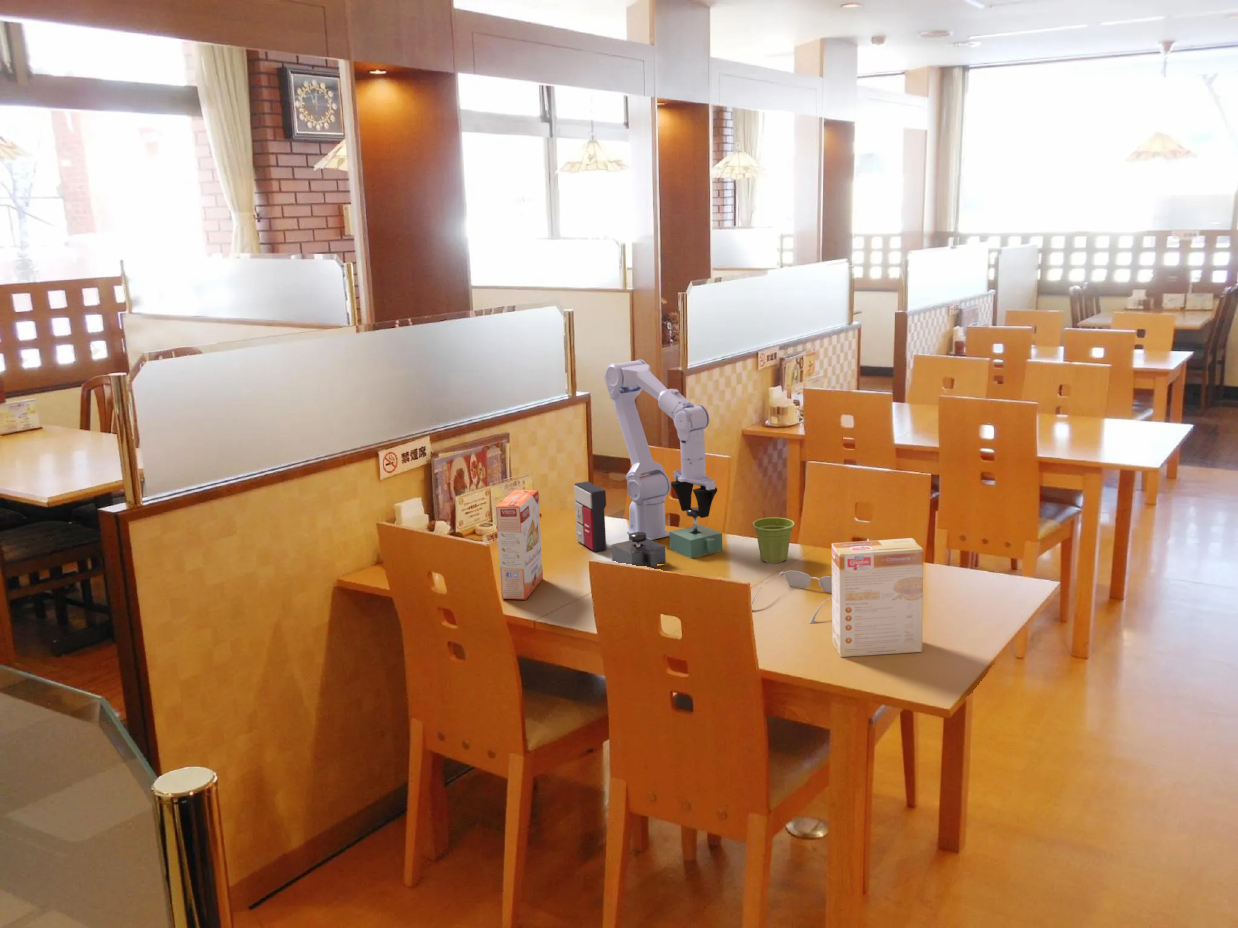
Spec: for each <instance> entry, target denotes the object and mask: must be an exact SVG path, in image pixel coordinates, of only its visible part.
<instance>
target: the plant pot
mask: <svg viewBox="0 0 1238 928" xmlns="http://www.w3.org/2000/svg"><path fill="white" fill-rule="evenodd" d="M752 527H754V531H755V534H756V539H757V544H758V550H759V556H760V560H761V561H762V562H767V563H769V564H779V563H783V562H784V561H787V560H788V556H789V549H790V548H789V547H790V541H791V534H792V532H793V528H794V527H795V521H793V520H792V519H789V518H785V517H774V516H773V517H764V518H758V519H756V520H754V521H752Z"/></svg>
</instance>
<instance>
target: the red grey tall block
mask: <svg viewBox="0 0 1238 928" xmlns="http://www.w3.org/2000/svg"><path fill="white" fill-rule="evenodd" d="M573 490H574V492H573V494H574V501H575V502H574V505H573V506H574V516H575V521H576V522H575V534H576V536H575V537H576V541H578V542H579V543H581V544H582V545H584V546H585V547H586V548H588V549H590V550H592V551H593V552H594V553H597V552H604V551H606V550H607V539H606V538H607V536H606V520H605V509H606V506H607V497H606V495H607V494H606V493H607V492H606V490H605V489H603V488H602V487H600V486H597V485H596V484H594V483H591V482H590V481H588V480H587V481H583V482H576V483H574V486H573Z"/></svg>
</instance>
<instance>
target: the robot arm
mask: <svg viewBox="0 0 1238 928" xmlns="http://www.w3.org/2000/svg"><path fill="white" fill-rule="evenodd" d="M651 369H652V368H651V365H649V364H648V363H646V361H645V360H643V359H636V360H632V361H626V362H619V363H610V364H609V365H608V366H607V368H606V371H605V374H604V377H603V378H604V382H605V385H606V388H607V391H608V395H609V398H610V399H611V401H612V405H613V407H614V411H615V414H616V418H617V421H618V424H619V427H620V430H621V433H622V437H623V441H624V444H625V447H626V450H627V452H628V457H629V459H630V464H631V468H630V469H629V470H628V472H627V473H626V475H625V480H626V483H627V484H626V485H627V488H626V489H627V493H628V496H629V498H630V499H631V500H632V501H631V502H630V504H629V507H628V513H629V514H628V516H629V518H628V519H629V530H626V533H627V534H628V535H629V534H630V533H633V532H644V533H646V538H648V539H650V540H652V541H654V540H658V539H661V538H665V537H670V535H669V532H670V531H668V530H666V517H665V515H666V513H665V511H666V509H665V501H666V500H667V496H668V495H669V494H670V492H671V488H673V490H674V491H675V493H676V496H677V499H678V502H679V506H680V509H681V511H682V512H685V511H686V509H688V508H692V493H693V494H694V496H695V500H696V502H697V507H698V511H699V518H701V519H704V518H708V517H709V515H710V511H711V508H712V503H713V500H714V498H715V496H716V495H717V492H718V488H717V487H716V481H715V480H713V479H712V478H710V477H709V476H708V475H707V473H706V469H707V468H706V446H705V442H706V441H705V430H706V429H707V428H708V426H709V424H710V416H709V412H708V410H707V408H706V407H705V406H704V405H703V404H695V403H692V401H690V400H688V399H687V398H686V397H684V395H683V394H681V393H680V391H679V390H678V388H669V389H668V388H667V387H666V386H665V385H664V384H663V383H662V382H661V381H660V380H659V379H658V378H657V377H656V376H655V375H654V374H653V373H652V370H651ZM642 391H645V392H646V393H647V394H648V395H650V396H651V397H652V398H654V399H655V400H656V401H658V402H657V406H658V408H659V409H660V410H661V411H662V412H663V413H665V415H667V416H668V417H670V419H672V420H673V425H674V427H675V429H676V432H677V437H678V439H679V443H680V444H679V446H680V447H679V448H680V469H677V470H674V471H672V473H673V480H675V481H671V480H670V478H669V476H668V475H667V473H666V471H665V469H664V466H663V465H662V464H660V463H659V462H657V461H656V460H654V459H653V456H652V453H651V450H650V447H649V444H648V440H647V438H646V437H647V436H646V434H645V431H644V427H643V424H642V420H641V419H640V418H641V417H640V415H639V412H638V408H637V404H636V402H635V400H636V398H637V397H638V396H639V395H640V394H641V392H642ZM695 485H696V486H698V488H694V486H695ZM693 488H694V489H693Z"/></svg>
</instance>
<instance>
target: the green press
mask: <svg viewBox="0 0 1238 928" xmlns="http://www.w3.org/2000/svg"><path fill="white" fill-rule="evenodd" d="M697 528H698V534H693V525H692V526H687V527H685V528H680V529H676V530H671V531H670V530H669V531H668V532H669V535H670V536H669V549H670V550H671V551H674V552H675V551H676V552H675V553H678V554H680V555H682V556H684V557H687V558H689V559H694V558H699V557H703V556H706V555H707V556H708V555H710V554H715V553H719V552H723V550H724V549H723V533H722V532H721V531H718V530H715V529H713V528H710V527H708V526H705V525H702V524H697Z"/></svg>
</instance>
